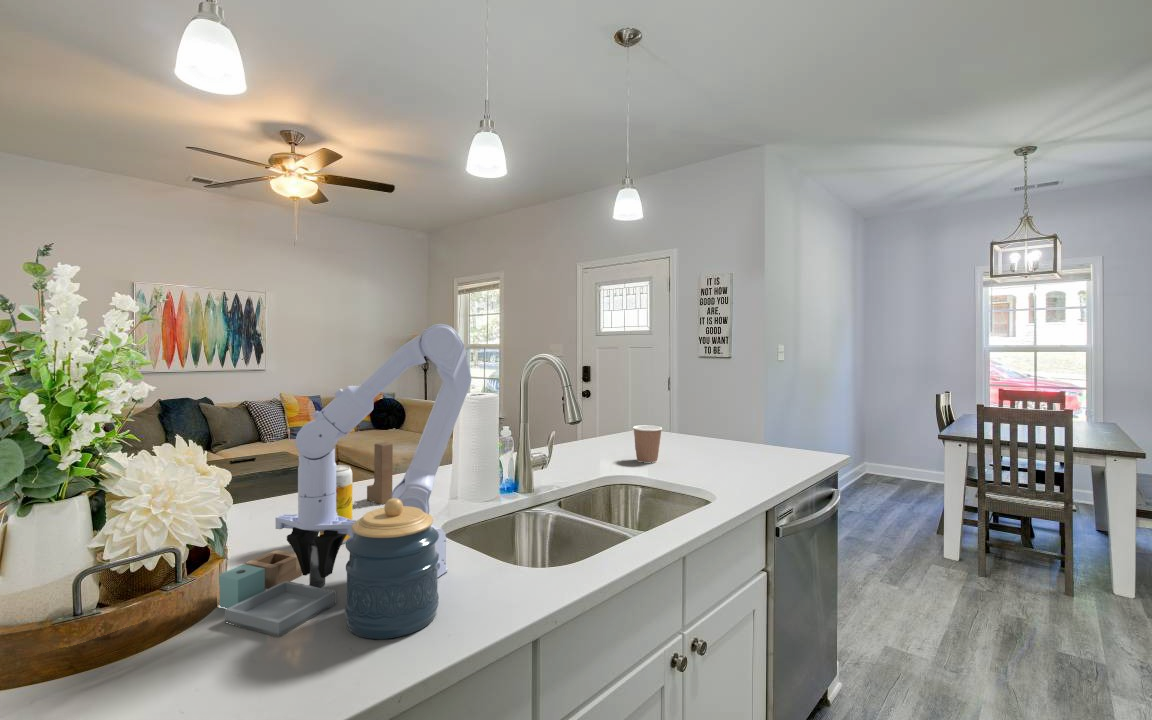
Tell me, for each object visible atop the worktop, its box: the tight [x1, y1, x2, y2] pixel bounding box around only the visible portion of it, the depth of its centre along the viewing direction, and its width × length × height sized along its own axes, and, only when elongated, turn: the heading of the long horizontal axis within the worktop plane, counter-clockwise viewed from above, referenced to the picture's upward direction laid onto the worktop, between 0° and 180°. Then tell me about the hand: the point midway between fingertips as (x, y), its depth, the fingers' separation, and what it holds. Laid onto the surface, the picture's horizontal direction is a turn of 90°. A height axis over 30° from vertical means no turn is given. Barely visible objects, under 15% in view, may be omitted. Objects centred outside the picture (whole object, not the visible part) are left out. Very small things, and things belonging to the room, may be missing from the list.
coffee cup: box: [632, 424, 663, 464], centre depth 190 cm, size 10×10×12 cm
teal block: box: [219, 563, 266, 608], centre depth 83 cm, size 4×4×5 cm
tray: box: [224, 581, 337, 638], centre depth 80 cm, size 10×10×2 cm
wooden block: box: [366, 441, 394, 505], centre depth 138 cm, size 7×3×15 cm, turn 53°
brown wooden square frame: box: [244, 549, 303, 590], centre depth 91 cm, size 6×6×4 cm
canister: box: [344, 498, 439, 640], centre depth 79 cm, size 13×13×18 cm
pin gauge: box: [308, 542, 326, 588], centre depth 89 cm, size 2×2×7 cm
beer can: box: [319, 464, 353, 545], centre depth 109 cm, size 6×6×15 cm
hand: (317, 574), depth 89 cm, fingers open, 3 cm apart
